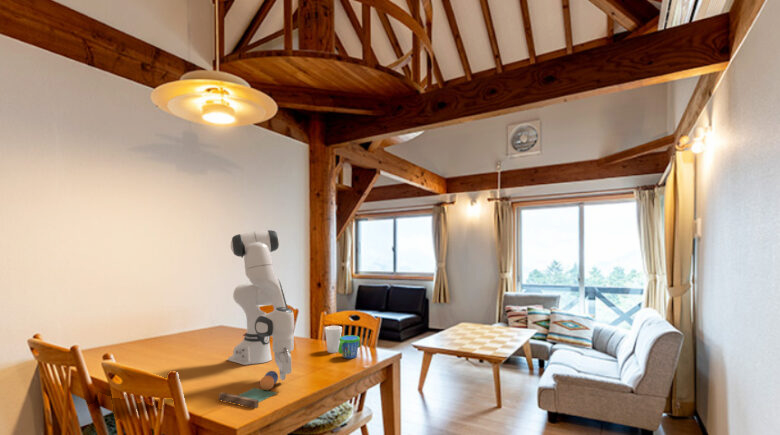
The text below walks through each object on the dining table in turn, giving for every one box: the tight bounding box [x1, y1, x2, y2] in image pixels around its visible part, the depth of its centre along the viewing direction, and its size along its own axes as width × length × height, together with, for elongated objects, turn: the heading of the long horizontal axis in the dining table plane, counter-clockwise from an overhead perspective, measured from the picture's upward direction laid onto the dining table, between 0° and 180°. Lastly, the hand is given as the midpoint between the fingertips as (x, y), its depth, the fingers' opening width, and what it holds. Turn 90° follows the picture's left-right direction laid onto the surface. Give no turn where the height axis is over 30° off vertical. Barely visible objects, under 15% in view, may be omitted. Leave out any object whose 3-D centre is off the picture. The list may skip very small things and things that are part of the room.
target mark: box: [237, 387, 278, 403], centre depth 153 cm, size 12×12×1 cm
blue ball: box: [264, 370, 279, 385], centre depth 165 cm, size 6×6×6 cm
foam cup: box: [324, 325, 343, 354], centre depth 219 cm, size 10×9×13 cm
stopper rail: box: [218, 392, 259, 409], centre depth 145 cm, size 18×2×2 cm, turn 65°
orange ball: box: [259, 375, 275, 391], centre depth 159 cm, size 6×6×6 cm
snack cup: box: [337, 334, 361, 359], centre depth 207 cm, size 16×11×10 cm
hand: (282, 378), depth 167 cm, fingers closed
